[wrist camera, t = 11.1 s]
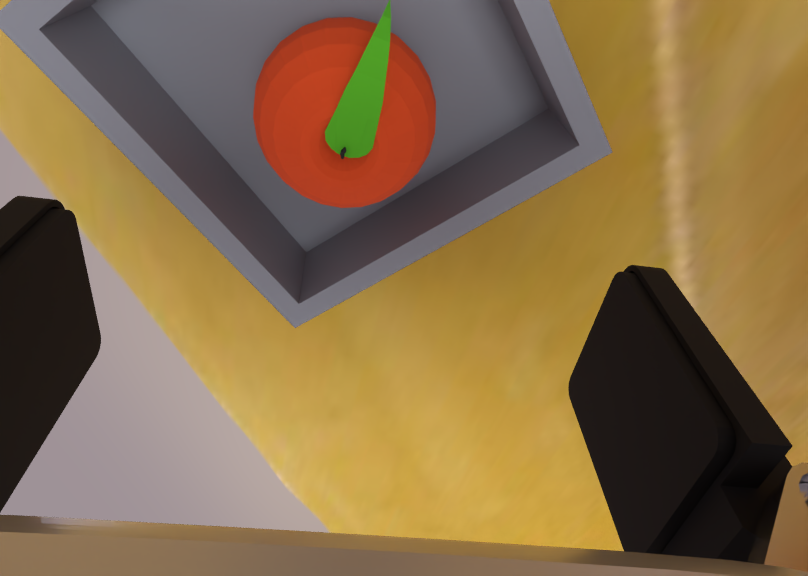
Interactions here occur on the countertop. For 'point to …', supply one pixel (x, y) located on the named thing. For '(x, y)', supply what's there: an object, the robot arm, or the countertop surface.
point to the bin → (242, 155)
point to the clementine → (345, 111)
